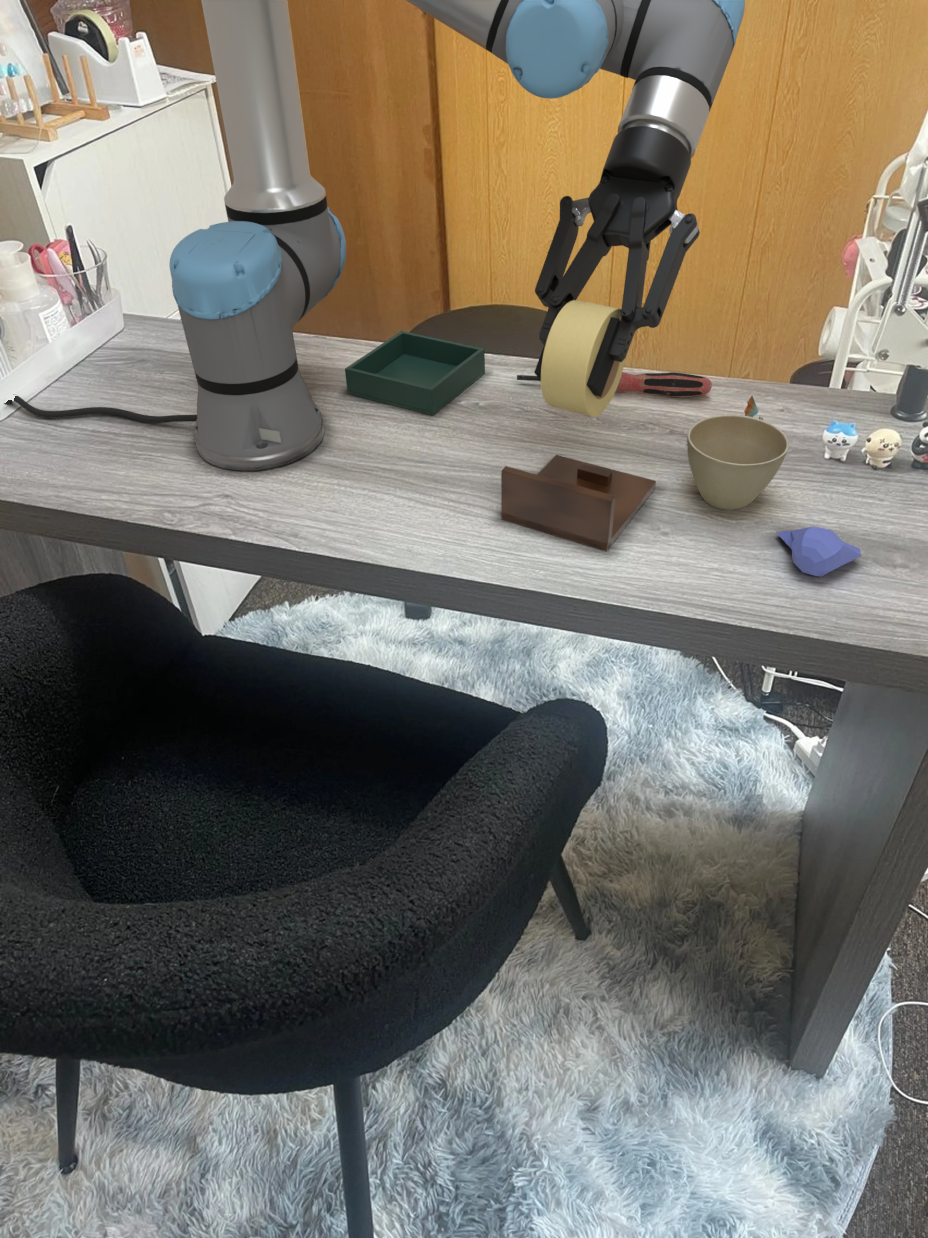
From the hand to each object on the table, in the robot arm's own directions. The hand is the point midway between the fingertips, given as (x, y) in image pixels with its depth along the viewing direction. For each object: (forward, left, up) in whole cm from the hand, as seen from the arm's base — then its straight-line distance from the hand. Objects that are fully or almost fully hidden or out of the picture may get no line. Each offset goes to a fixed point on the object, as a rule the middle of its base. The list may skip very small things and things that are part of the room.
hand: (567, 384), depth 82 cm
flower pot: (+14, +12, -15) cm, 24 cm away
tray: (-31, +20, -15) cm, 39 cm away
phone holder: (0, +4, -15) cm, 16 cm away
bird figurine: (+24, +5, -15) cm, 29 cm away
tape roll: (0, +4, -4) cm, 6 cm away
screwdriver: (-7, +28, -14) cm, 32 cm away
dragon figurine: (+11, +23, -15) cm, 30 cm away
